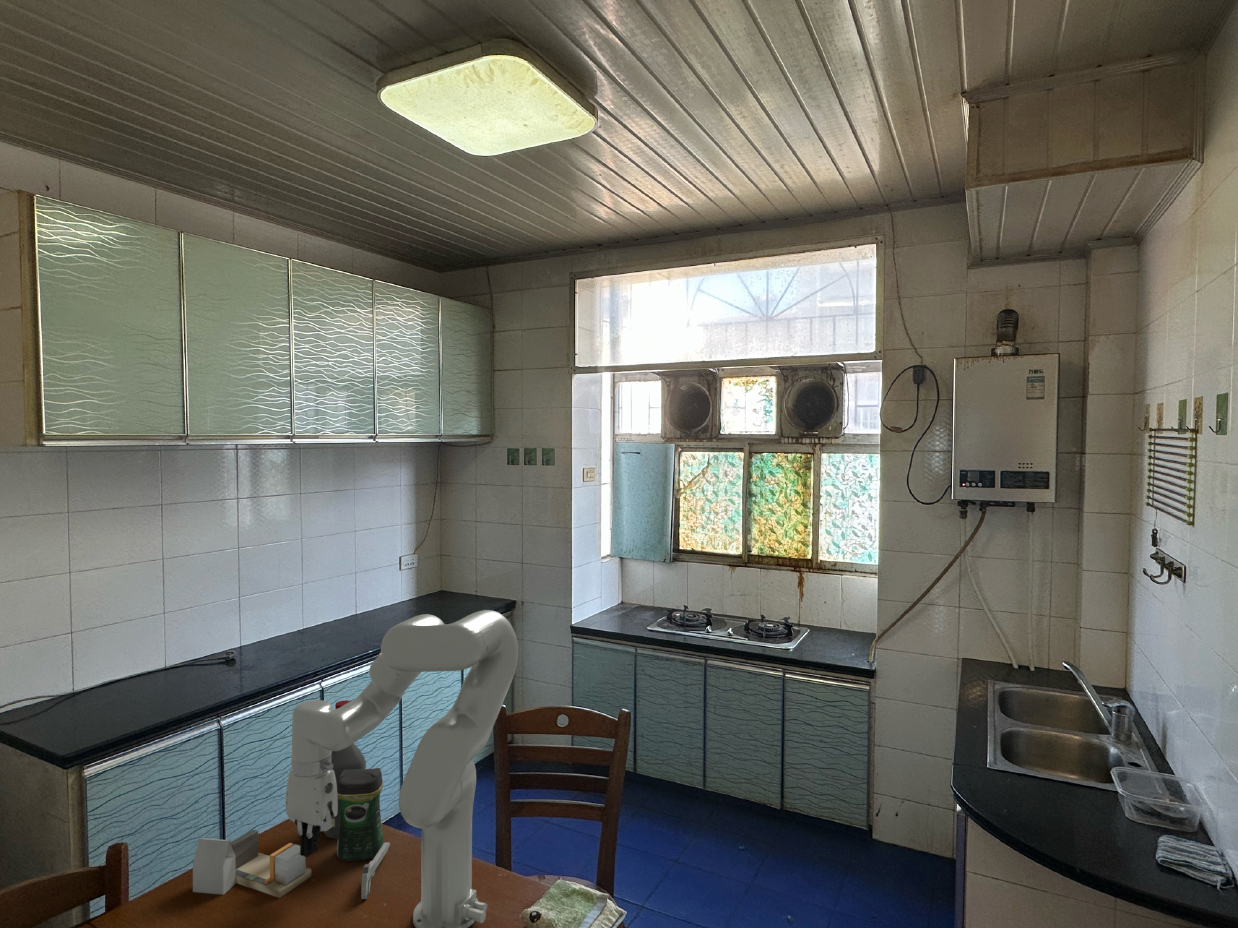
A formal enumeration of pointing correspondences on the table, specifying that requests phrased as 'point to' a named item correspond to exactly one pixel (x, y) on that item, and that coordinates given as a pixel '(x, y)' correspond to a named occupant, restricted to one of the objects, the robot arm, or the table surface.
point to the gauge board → (259, 867)
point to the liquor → (343, 760)
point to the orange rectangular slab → (272, 861)
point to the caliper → (372, 870)
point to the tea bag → (213, 866)
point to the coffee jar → (359, 814)
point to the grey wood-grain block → (289, 865)
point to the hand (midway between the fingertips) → (309, 852)
